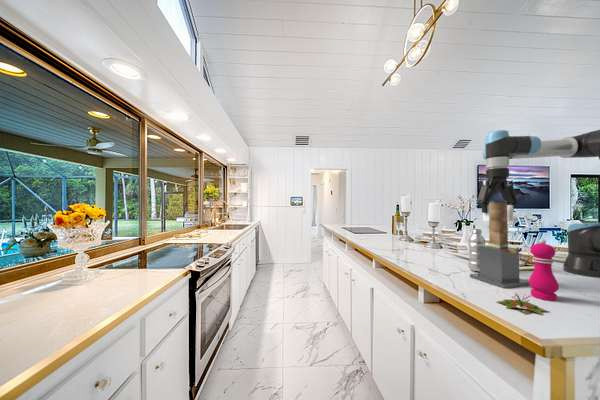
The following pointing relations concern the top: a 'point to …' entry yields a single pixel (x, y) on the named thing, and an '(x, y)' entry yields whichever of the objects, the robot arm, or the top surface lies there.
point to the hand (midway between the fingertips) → (498, 220)
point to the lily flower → (520, 302)
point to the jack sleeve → (500, 267)
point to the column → (498, 225)
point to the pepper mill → (543, 272)
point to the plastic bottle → (475, 249)
